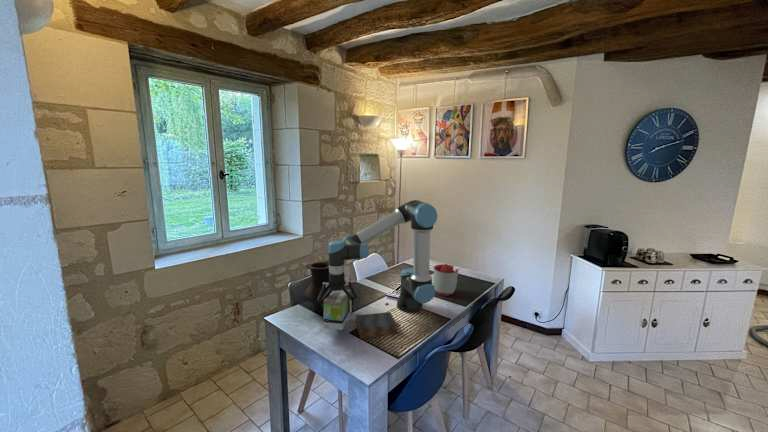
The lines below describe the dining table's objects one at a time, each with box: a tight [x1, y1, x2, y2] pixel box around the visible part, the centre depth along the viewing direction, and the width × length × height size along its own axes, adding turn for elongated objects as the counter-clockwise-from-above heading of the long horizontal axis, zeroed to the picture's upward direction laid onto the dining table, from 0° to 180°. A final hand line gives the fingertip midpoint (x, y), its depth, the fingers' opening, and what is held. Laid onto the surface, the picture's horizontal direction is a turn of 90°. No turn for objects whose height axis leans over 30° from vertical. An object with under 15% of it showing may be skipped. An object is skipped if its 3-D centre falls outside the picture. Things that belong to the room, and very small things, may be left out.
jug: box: [304, 259, 330, 313], centre depth 182 cm, size 21×18×30 cm
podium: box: [355, 311, 399, 339], centre depth 164 cm, size 19×15×4 cm
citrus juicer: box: [433, 263, 460, 297], centre depth 209 cm, size 16×17×20 cm
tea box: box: [323, 289, 352, 331], centre depth 160 cm, size 15×10×15 cm, turn 171°
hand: (337, 312), depth 160 cm, fingers closed on tea box, 12 cm apart
